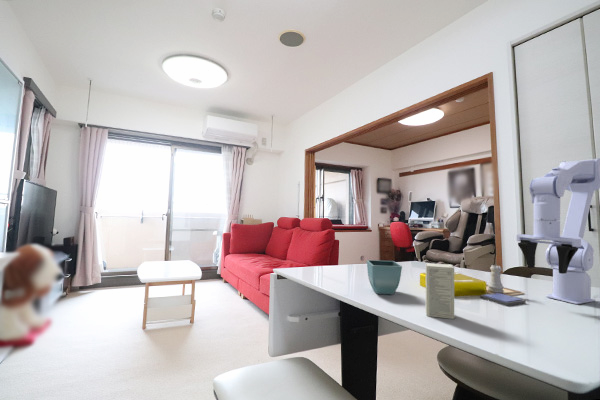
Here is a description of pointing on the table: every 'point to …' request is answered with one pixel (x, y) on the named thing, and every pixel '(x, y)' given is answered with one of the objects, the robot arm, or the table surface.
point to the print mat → (506, 291)
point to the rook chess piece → (495, 280)
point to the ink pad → (502, 299)
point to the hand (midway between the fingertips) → (546, 270)
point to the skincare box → (440, 290)
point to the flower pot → (384, 276)
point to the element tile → (463, 285)
